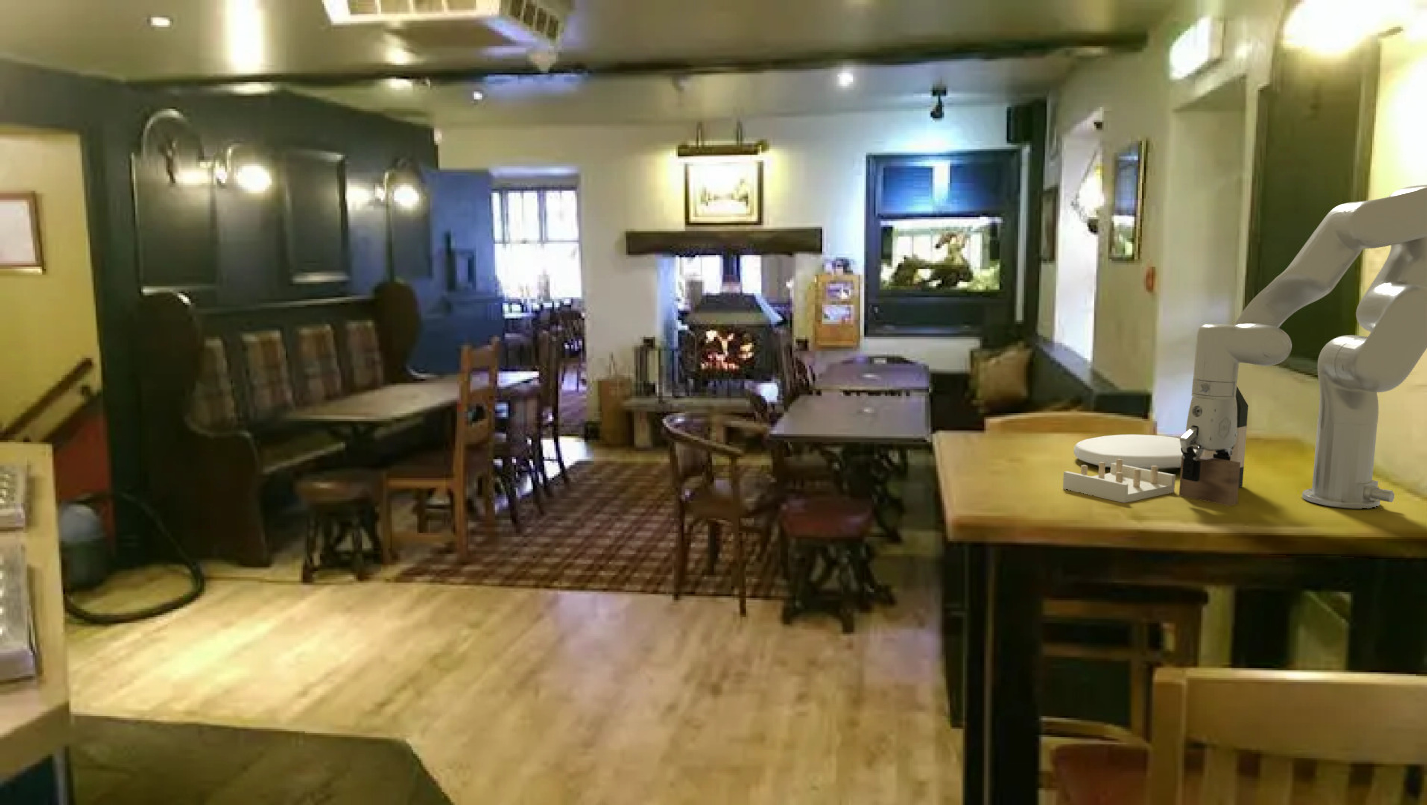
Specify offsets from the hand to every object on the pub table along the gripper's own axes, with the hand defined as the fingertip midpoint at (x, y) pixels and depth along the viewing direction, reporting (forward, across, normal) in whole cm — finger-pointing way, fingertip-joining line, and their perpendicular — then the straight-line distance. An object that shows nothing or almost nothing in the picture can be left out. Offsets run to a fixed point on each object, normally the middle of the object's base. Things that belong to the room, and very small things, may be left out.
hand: (1205, 477), depth 194 cm
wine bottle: (+4, +15, +6) cm, 16 cm away
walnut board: (+4, +1, 0) cm, 4 cm away
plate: (+5, +20, +28) cm, 34 cm away
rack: (+5, -7, +14) cm, 16 cm away
